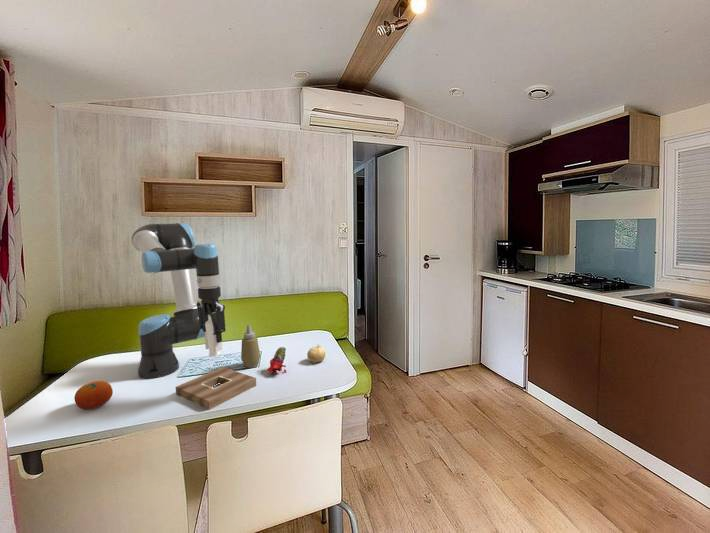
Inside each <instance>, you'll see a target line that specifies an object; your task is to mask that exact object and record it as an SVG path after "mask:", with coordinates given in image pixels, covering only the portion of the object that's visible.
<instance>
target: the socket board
mask: <svg viewBox="0 0 710 533" xmlns="http://www.w3.org/2000/svg"><path fill="white" fill-rule="evenodd" d="M218 383H221V384H222V385H221V384H218ZM216 384H218V385H216ZM214 385H216V386H214ZM212 386H214V387H212ZM254 387H257V378H256V377H254V376H251V375H249V374H245V373H242V372H240V371H236V370H233V369H230V368H227V367H223V366H222V367H220V368H217V369H215V370H212V371H210V372H208V373H205V374H202V375H201V376H197V377H196V378H194V379H191V380H188V381H186V382H184V383H181V384H178V385H177V386H175V394H176V396H178V397H180V398H183V399H185V400H187V401H189V402H191V403H194V404H196V405H198V406H201V407H203V408H205V409H207V410H212V409H213V408H215V407H218V406H219V405H221V404H223V403H225V402H228V401H229V400H231V399H234V398H235V397H237V396H239V395H241V394H243V393H245V392H246V391H248V390H250V389H252V388H254Z"/></svg>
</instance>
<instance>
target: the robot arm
mask: <svg viewBox="0 0 710 533" xmlns="http://www.w3.org/2000/svg"><path fill="white" fill-rule="evenodd" d="M130 240H131V244H132V246H133V247H134V249H136V251H138V252H140V253H141V266H142V269H143V272H144V273H146V274H151V273H154V274H157V273H162V272H163V273H165V272H170V274H171V281H172V288H173V289H172V290H173V294H174V300H175V307H176V308H175V310H174V311H173V316H171V315H169V314H167V313H163V314H158V315H157V314H156V315H151V316H149V317H147V318H144V319H142V320H141V321H140V322H139V324H138V336H139V343H140V344H139V345H140V356H141V358H140V360H139V365H138V368H137V373H138V374H137V375H138V377H139V378H141V379H142V378H143V379H156V378H161V377H165V376H168V375H171V374H173V373H175V372H176V371H178V370H179V368H180V364H179V360H178V358H177V356H176V353H175V351H174V348H173V345H176V344H180V343H185V342H189V341H194V340H195V341H196V340H199V339H202V338H204V343H205V344H204V345H205V349H206V350H209V346H208V339H207V333H206V327H205V322H207V321H208V315H210V316H211V319H212V323H213V328H214V332H215V333H213V339H214V351H215V352H217V351H219V352H220V351H222V350H223V343H222V342H223V337H222V336H223V335H222V333H225V332H226V318H225V317H226V316H225V308H226V305H225V304H220V301H219V298H220V297H221V296H222V292H221V287H220V285H221V278H220V266H219V252H218V247H217V244H215V243H198V244H196V242H195V235H194V232H193V230H192V227H191V226H190V225H189V224H187V223H179V222H176V223H150V224H144V225H142V226H140V227H139V228H137V229H136V230H135V231H134V232H133V233H132V236H131V239H130ZM193 270H195V271H196V283H197V287H198V289H197V293H196V287H195V282H194V281H195V280H194V277H193ZM197 297H198V298H197ZM198 299H200V300H201V301H199V302H198Z"/></svg>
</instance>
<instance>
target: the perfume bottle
mask: <svg viewBox="0 0 710 533" xmlns="http://www.w3.org/2000/svg"><path fill="white" fill-rule="evenodd" d="M205 327H206V333H207V339H208V346H209V349H208V357H217V356H218V355H221V353H220V351H217V352H215V351H214V339H213V333H215V332H214V328H213V323H212V319H211V316H210V315H208V321H207V322H205Z"/></svg>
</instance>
